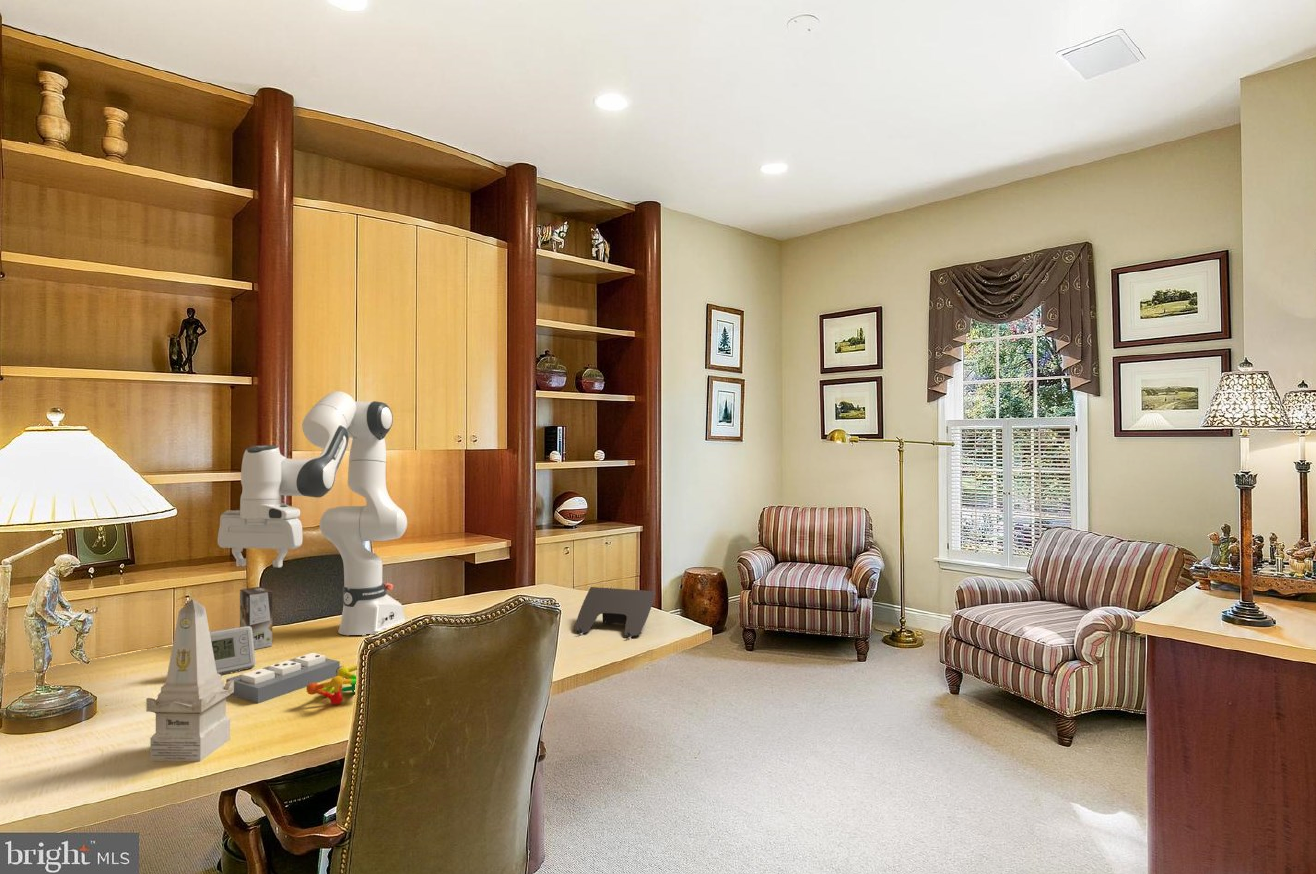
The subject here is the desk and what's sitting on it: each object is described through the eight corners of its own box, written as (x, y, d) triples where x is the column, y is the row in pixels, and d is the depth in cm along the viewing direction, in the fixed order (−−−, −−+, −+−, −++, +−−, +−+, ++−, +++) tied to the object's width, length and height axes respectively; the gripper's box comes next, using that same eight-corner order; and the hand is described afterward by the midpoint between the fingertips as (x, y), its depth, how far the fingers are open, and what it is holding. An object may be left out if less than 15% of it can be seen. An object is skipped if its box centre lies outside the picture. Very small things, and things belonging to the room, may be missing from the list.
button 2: (287, 672, 181) (288, 659, 181) (300, 675, 179) (301, 662, 179) (269, 678, 177) (269, 665, 177) (282, 681, 174) (282, 668, 174)
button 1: (261, 680, 175) (261, 667, 175) (274, 684, 173) (274, 671, 173) (241, 687, 170) (241, 673, 170) (254, 690, 168) (254, 677, 168)
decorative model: (293, 688, 164) (341, 652, 178) (308, 721, 166) (355, 684, 179) (333, 682, 159) (379, 646, 173) (348, 717, 161) (393, 679, 174)
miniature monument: (146, 761, 136) (146, 604, 136) (182, 738, 147) (183, 592, 146) (201, 762, 136) (202, 605, 136) (233, 738, 147) (234, 592, 146)
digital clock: (181, 683, 177) (181, 640, 177) (181, 673, 185) (182, 631, 185) (256, 672, 186) (256, 631, 186) (253, 662, 194) (254, 623, 194)
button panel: (308, 667, 190) (308, 654, 190) (339, 674, 185) (339, 661, 185) (226, 693, 171) (226, 679, 171) (258, 703, 165) (258, 688, 165)
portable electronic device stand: (572, 650, 227) (568, 628, 223) (593, 603, 247) (589, 581, 243) (642, 656, 222) (640, 634, 218) (658, 607, 242) (655, 586, 238)
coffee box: (273, 646, 208) (273, 591, 208) (249, 651, 203) (249, 594, 203) (262, 639, 214) (262, 585, 214) (238, 644, 209) (238, 589, 209)
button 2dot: (312, 664, 187) (312, 652, 187) (325, 667, 185) (325, 655, 185) (295, 669, 183) (295, 657, 183) (308, 673, 181) (308, 660, 181)
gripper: (212, 510, 175) (210, 567, 175) (291, 512, 174) (290, 569, 173) (229, 508, 182) (228, 563, 181) (306, 510, 180) (305, 565, 180)
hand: (259, 566), depth 177 cm, fingers open, 8 cm apart
